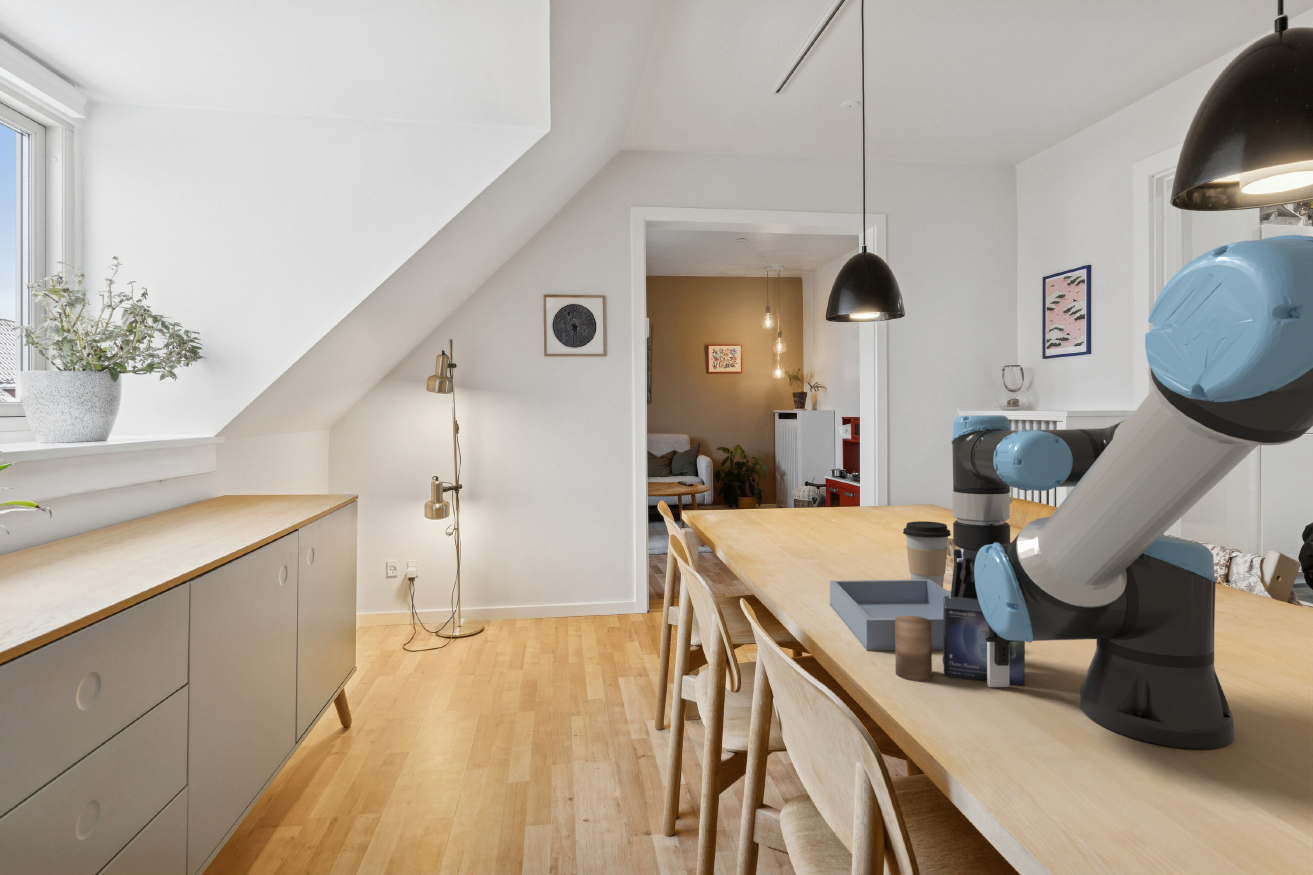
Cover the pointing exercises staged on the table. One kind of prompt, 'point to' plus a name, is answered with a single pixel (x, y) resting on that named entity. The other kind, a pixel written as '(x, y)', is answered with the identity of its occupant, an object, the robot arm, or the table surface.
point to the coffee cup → (927, 550)
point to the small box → (973, 643)
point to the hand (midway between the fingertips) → (981, 671)
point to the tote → (887, 608)
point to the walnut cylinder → (913, 648)
